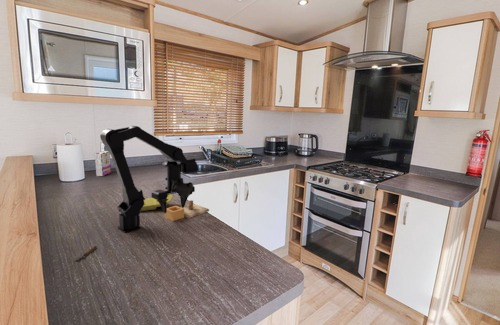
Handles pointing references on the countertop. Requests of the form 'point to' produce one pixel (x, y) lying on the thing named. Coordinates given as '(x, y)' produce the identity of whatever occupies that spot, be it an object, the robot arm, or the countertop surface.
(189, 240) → the countertop surface
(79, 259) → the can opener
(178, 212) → the orange nut
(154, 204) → the plastic component
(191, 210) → the beige peg base
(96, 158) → the candy bar box
